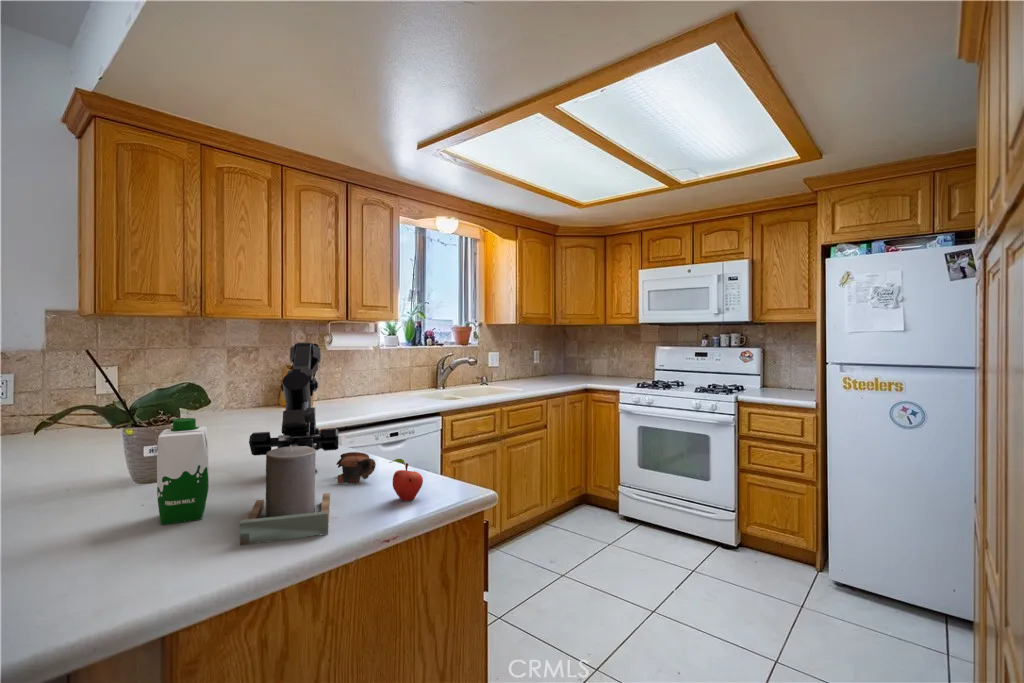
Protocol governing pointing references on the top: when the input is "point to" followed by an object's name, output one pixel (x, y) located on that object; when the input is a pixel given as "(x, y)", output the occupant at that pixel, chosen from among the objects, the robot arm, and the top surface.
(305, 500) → the pillar candle
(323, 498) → the channel
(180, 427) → the milk carton
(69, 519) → the top surface
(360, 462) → the pottery mug
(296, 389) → the robot arm
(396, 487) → the apple
